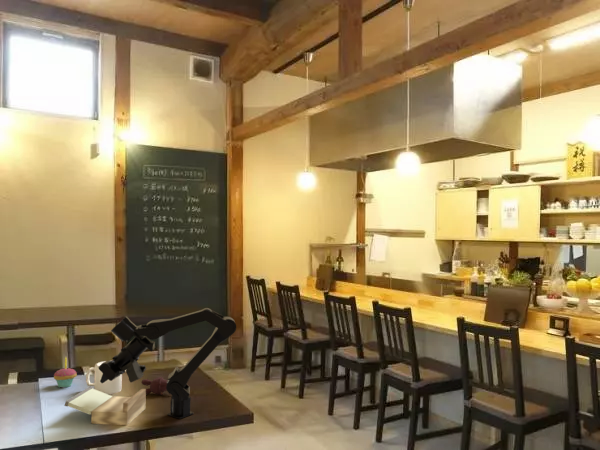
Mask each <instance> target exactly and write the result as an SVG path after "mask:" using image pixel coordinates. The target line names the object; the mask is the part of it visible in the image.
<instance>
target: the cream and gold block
mask: <svg viewBox="0 0 600 450" xmlns="http://www.w3.org/2000/svg"><path fill="white" fill-rule="evenodd" d="M146 389H147V388H141V389H140V390H138V391H137V392H135V394H133V395H132V396H115V395H114V396H113V395H112V396H113V397H111V398H110V399H108V400H107V401H106V402H104V403H103V404H101V405H100V406H98V407H97V408H96V409H94V410H93V411H92V414H90V416H91V419H90V420H91V421H90V424H92V425H93V424H95V425H96V424H97V425H112V426H113V425H116V426H117V425H118V426H128V425H129V424H131V422H132V421H133V420H135V419H136V418H137V417H139V416H140V414H141V413H143V412H144V410H146V401H147V400H146V397H147V396H146V395H147V394H146Z"/></svg>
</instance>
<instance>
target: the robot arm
mask: <svg viewBox="0 0 600 450" xmlns="http://www.w3.org/2000/svg"><path fill="white" fill-rule="evenodd" d="M202 322H207V323H209V324H210V325H212V326H214V327H215V328H214V330H213V332H212V334H211V336H209V338H208V339H207V340H206V341H205V342H204V343H203V344H202V345H201V346H200V348H199V349H198V350H197V351H195V353H194V354H193V355H192V356H191V357H190V359H188V361H187V362H186V363H185V364H184V365H183V366H182V367H180V368H179V367H178V365H177V366H175V368H173V371H171V372H170V373H169V374H168V377H167V380H168V381H167V385H166V389H167V391H166V392H167V393H168V394H169V395H171V397H170V407H169V408H170V409H169V410H170V412H167V416H169V417H172V418H175V419H176V418H177V419H184V418H186V417H189V416H192V415H194V412H193V411H191V399H192V398H191V396H190V394H191V393H190V392H191V391H190V390H191V386H189V384H188V382H189V380H190V379H191V377H192V375H193V374H194V373H195V371H196V370H197V369H198V368H199V367H200V366H201V365H202V363H204V361H205V360H206V359H207V358H208V357H209V356H210V355H211V353H213V352H214V350H216V348H217V347H218V346H219V345H220V344H221V343H223V342H225V341H226V340H227V339H229V338H230V337H231V336H232V335H234V334H235V333H236V331H237V324H236V322H235V319H234V318H232V317H231V316H223V315H222V314H219V313H218V312H216V311H214V310H212V309H211V308H208V307H205V308H203V309H200V310H197V311H193V312H190V313H187V314H183V315H179V316H175V317H172V318H161V319H153V320H151V321H149V322H147V323H146V324H140V325H136V324H135V323H134V322H133V321H131V320H130V318H129V316H124V317H123V319H122V320H121V321H119V322H118V323H116V324H115V326H114V327H112V329H111V330H110V332H112V334H113V335H115V337H117V338H118V340H120V341H121V342H127V343H128V344H125V346H124V347H122V348H121V349H120V351H119V352H118V354H116V355H114V356H113V357H112V358H111V359H112V360H105V361H106V362H104V363H102V364H101V365H100V366H99V367H98V368H99V370H100V371H101V372H102V373H103V375H102V377H101V380H100V382H101V383H104V382H105V381H107V380H108V379H109V380H110V381H112V380H114V379H115V378H116V377H118V376H120V374H122V375H123V374H125V373H126V375H127V377H128V381H129V382H130V383H134V382H135V381H138V380H141V379H142V377H144V375H145V373H144V372H145V371H146V370H147V367H146V365H145V364H141V363H139V362H138V361H139V360H140V356H141V355H142V354H143V353H144V352H145V351H146V350H149V351H150V352H153V351H154V350H155V348H156V346H155V343H156V341H155V340H157V339H159V338H161V337H164V336H165V335H167V334H168V333H171V332H173V331H175V330H179V329H181V328H185V327H188V326H192V325H195V324H199V323H202ZM130 340H131V341H130Z"/></svg>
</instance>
